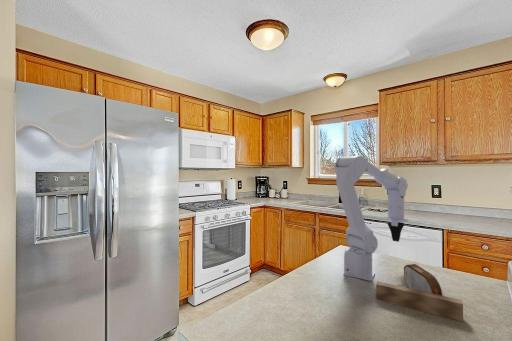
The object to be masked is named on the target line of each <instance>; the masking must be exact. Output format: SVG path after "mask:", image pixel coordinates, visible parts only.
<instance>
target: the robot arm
mask: <svg viewBox="0 0 512 341" xmlns="http://www.w3.org/2000/svg"><path fill="white" fill-rule="evenodd" d="M333 168H334V171H335V174H336V179H335V180H336V182H335V184H336V186H337V189H338V193H339V194H338V195H339V197H340V200H341V203H342V206H343V210H344V213H345V216H346V219H347V223H348V227H347V229H346V230H345V235H346V236H345V237H346V238H345V239H346V240H345V241H346V243H347V246H349V248H345V250H344V255H343V256H344V257H343V276H346V277H347V276H348V277H352V278H357V279H360V280H365V281H370V282H372V281H373V279H374V276H375V275H376V272H375V271H373V254H374V253H375V252H376V250H377V248H378V245H379V241H378V239H377V237H376V236H375V234H374V231H373V230H372V229H371V228H370V227H369V226H367V225H366V221H365V219H364V218H365V217H364V215H363V212H362V208H361V206H360V205H361V204H360V202H359V198H358V194H357V191H356V187H355V183H356V182H358V181H359V180H360V178H361V177H362V176H363V175H364V174H367V175H369V176H371V177H373V178H374V181H375V182H376V183H378V184H380V185H381V186H383V187H384V189H385V190H386V191H387V218H386V219H387V220H388V221H389V222H387V226H388V228H389V231H390V233H391V234H390V235H391V239H392V241H393V242H400V239H401V234H402V230H403V229H404V226H405V223H404V222H408V221H409V220H408V218H405V197H406V195H407V190H408V188H409V185H408V184H409V183H408V182H407V180H406V179H405V178H404V177H399V176H397V174H395V173H392V172H390V171H389V169H388V168H381V169H380V168H378V167H377V166H375V165H374V164H372V163H371V162H370V161H369V159H368V158H367V157H364V156H363V155H356V156H354V155H353V156H340V157H338V158H337V159H336V162H335V164H334V165H333Z"/></svg>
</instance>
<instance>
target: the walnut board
mask: <svg viewBox="0 0 512 341" xmlns="http://www.w3.org/2000/svg"><path fill="white" fill-rule="evenodd" d="M375 290H376V291H375V300H378V301H382V302H386V303H390V304H393V305H397V306H399V307H404V308H408V309H411V310H416V311H420V312H424V313H428V314H430V315H431V314H432V315H435V316H438V317H443V318H447V319H450V320H454V321H458V322H462V323H464V302H463V300H462V299H459V298H454V297H451V296H446V295H443V294H442V295H437V294H433V293H428V292H424V291H419V290H415V289H410V288H408V287H407V286H401V285H396V284H391V283H387V282H383V281H380V280H377V281H376V284H375Z"/></svg>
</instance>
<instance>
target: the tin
mask: <svg viewBox="0 0 512 341" xmlns="http://www.w3.org/2000/svg"><path fill="white" fill-rule="evenodd" d="M403 278H404V281H405V284H406V287H407V288H410V289H415V290H419V291H424V292H428V293H433V294H437V295H442V296H443V291H442V288H441V285H440V282H439V281H438V279H437V278H436V276H435V275H433V274H432V273H430V272H429V271H427V270H425V269H424V268H423V267H421V266H420V265H418V264H416V263H412V264H406V265H404V267H403Z"/></svg>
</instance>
